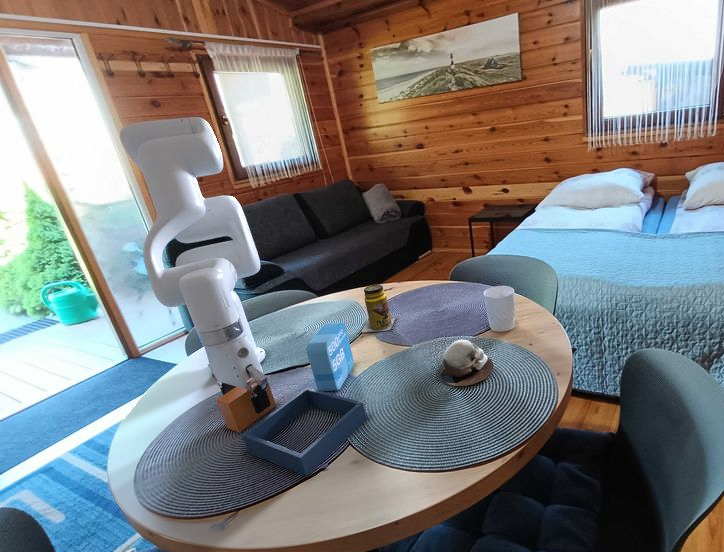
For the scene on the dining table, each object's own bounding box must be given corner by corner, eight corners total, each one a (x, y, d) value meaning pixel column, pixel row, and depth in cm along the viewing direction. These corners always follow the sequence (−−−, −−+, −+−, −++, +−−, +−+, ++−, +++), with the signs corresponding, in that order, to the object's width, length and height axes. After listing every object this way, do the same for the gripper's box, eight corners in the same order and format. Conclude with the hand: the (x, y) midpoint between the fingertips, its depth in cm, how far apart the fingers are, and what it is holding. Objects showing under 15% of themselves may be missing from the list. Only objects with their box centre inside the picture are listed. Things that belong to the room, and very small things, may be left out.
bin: (248, 452, 80) (241, 435, 79) (311, 402, 93) (306, 387, 91) (306, 476, 73) (300, 458, 71) (367, 418, 85) (362, 402, 84)
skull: (472, 345, 105) (485, 326, 96) (492, 383, 101) (507, 367, 93) (428, 361, 99) (438, 343, 91) (447, 403, 95) (459, 388, 87)
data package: (338, 393, 95) (325, 345, 90) (318, 394, 95) (304, 347, 91) (354, 363, 106) (344, 319, 101) (337, 364, 106) (325, 321, 102)
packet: (227, 428, 88) (215, 399, 85) (264, 402, 95) (254, 375, 92) (239, 432, 86) (228, 403, 83) (276, 405, 93) (267, 378, 91)
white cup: (504, 316, 120) (501, 283, 116) (523, 325, 114) (520, 290, 110) (481, 326, 116) (477, 292, 112) (500, 336, 110) (496, 300, 106)
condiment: (390, 330, 121) (382, 290, 116) (360, 333, 121) (351, 293, 117) (395, 318, 127) (387, 281, 123) (367, 321, 128) (358, 284, 124)
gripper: (267, 328, 82) (291, 402, 89) (212, 318, 91) (238, 386, 97) (231, 347, 76) (260, 425, 83) (177, 335, 85) (206, 406, 91)
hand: (248, 404), depth 90 cm, fingers open, 9 cm apart
